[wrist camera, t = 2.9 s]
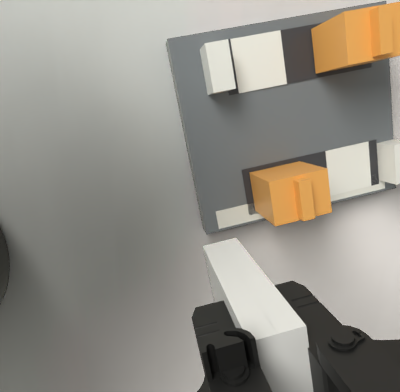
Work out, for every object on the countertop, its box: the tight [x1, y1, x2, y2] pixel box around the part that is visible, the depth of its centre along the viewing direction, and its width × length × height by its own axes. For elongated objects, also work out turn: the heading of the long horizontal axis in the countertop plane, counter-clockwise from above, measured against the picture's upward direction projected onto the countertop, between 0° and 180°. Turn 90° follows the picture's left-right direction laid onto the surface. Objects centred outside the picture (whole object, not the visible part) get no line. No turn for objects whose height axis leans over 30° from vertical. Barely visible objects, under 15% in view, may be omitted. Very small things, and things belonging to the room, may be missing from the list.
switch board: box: [166, 1, 400, 234], centre depth 25 cm, size 16×14×4 cm
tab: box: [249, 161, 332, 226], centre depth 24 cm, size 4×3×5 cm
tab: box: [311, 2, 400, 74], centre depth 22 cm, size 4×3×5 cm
